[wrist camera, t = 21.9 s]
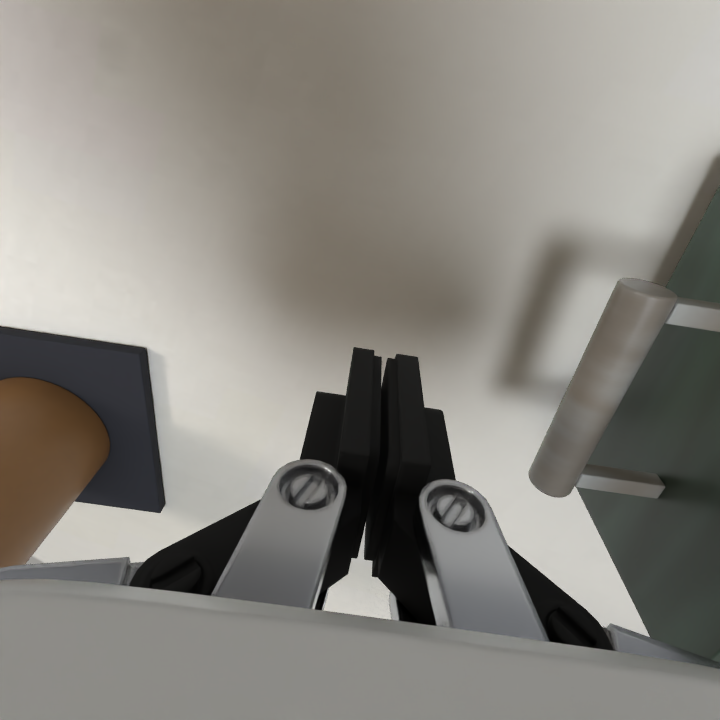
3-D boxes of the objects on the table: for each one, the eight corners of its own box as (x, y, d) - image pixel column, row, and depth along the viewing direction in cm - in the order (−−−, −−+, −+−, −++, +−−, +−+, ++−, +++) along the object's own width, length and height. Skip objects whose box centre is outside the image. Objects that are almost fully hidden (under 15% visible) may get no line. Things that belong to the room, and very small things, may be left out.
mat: (-89, 313, 19) (-102, 318, 18) (146, 347, 19) (139, 354, 19) (-19, 479, 24) (-28, 487, 23) (165, 504, 24) (160, 513, 24)
